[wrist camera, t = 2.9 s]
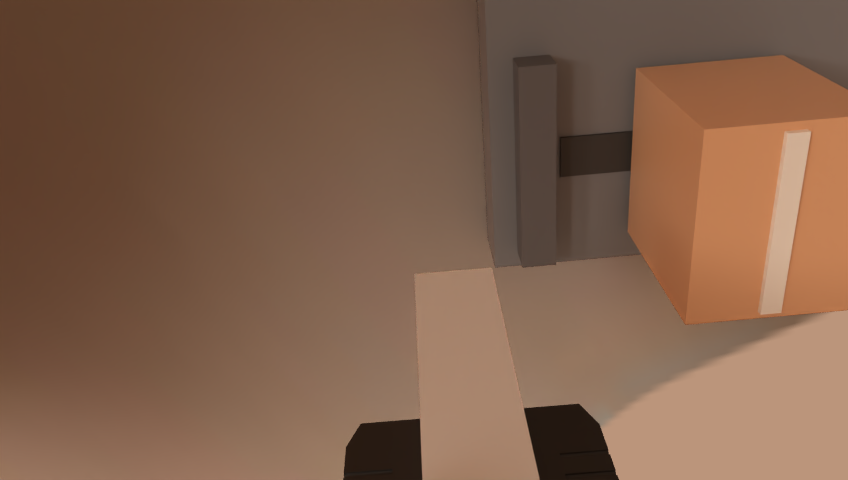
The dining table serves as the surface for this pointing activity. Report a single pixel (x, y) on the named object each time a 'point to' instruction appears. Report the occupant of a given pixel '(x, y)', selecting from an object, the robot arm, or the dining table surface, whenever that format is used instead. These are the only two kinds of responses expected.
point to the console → (606, 103)
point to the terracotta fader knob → (741, 187)
